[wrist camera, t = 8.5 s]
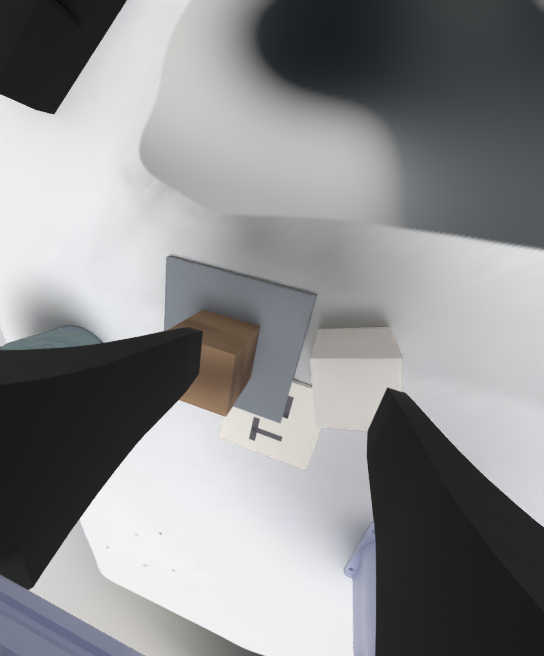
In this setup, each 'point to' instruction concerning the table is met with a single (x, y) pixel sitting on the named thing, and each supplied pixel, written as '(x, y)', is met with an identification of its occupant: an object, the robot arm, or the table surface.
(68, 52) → the battery charger
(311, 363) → the off-white block
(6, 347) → the green cup
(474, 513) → the robot arm
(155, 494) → the table surface
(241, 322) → the walnut block
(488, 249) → the table surface
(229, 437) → the tile
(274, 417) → the slate pad
